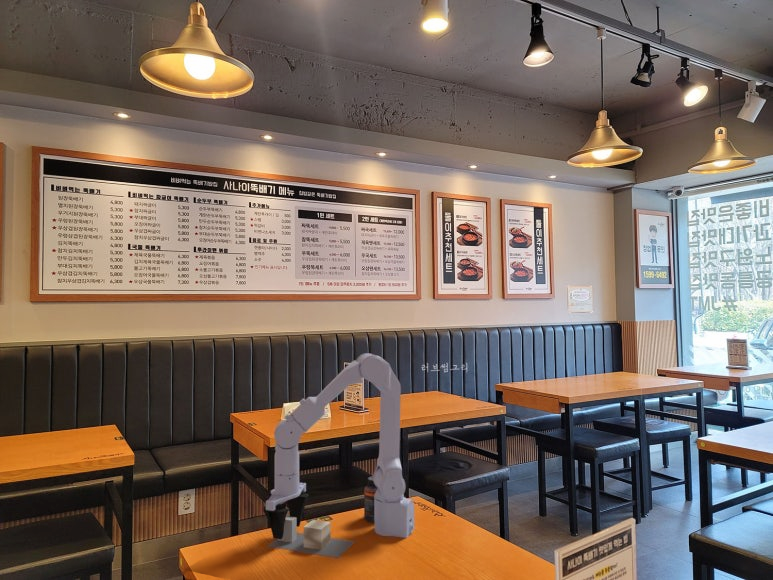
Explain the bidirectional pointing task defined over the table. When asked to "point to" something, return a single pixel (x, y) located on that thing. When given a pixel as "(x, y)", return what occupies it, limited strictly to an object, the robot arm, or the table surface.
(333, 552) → the gray plate with post
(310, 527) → the birch block
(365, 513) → the supplement bottle
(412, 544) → the table surface
